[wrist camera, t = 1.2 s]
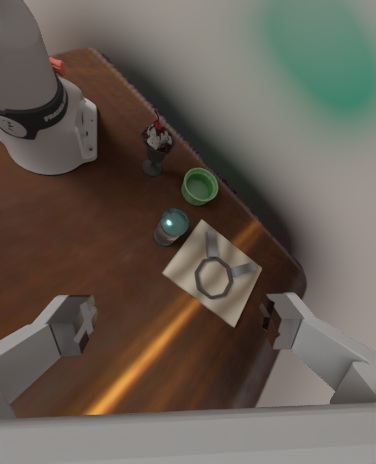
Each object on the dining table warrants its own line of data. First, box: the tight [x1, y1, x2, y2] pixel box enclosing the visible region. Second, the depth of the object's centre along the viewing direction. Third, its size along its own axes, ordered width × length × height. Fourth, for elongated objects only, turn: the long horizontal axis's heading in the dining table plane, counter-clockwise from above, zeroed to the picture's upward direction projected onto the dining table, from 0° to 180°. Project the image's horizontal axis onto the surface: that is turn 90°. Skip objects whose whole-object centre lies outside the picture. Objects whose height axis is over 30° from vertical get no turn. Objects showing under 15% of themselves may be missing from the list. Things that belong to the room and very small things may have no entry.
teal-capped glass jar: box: [153, 209, 189, 246], centre depth 38 cm, size 5×5×10 cm
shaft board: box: [162, 220, 262, 327], centre depth 43 cm, size 20×16×4 cm
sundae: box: [142, 110, 175, 176], centre depth 39 cm, size 7×7×15 cm
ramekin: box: [181, 168, 218, 206], centre depth 46 cm, size 9×9×4 cm
